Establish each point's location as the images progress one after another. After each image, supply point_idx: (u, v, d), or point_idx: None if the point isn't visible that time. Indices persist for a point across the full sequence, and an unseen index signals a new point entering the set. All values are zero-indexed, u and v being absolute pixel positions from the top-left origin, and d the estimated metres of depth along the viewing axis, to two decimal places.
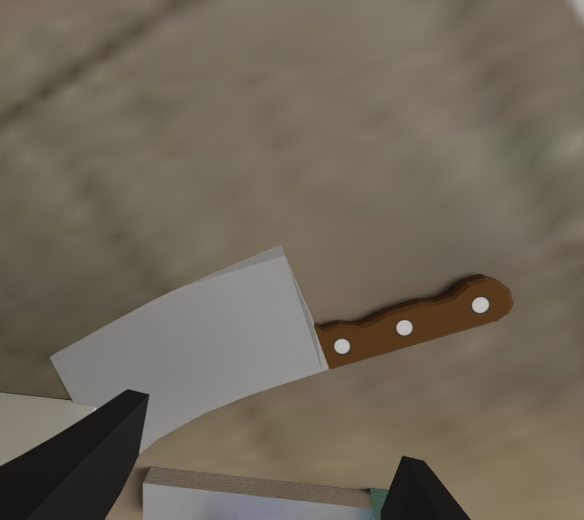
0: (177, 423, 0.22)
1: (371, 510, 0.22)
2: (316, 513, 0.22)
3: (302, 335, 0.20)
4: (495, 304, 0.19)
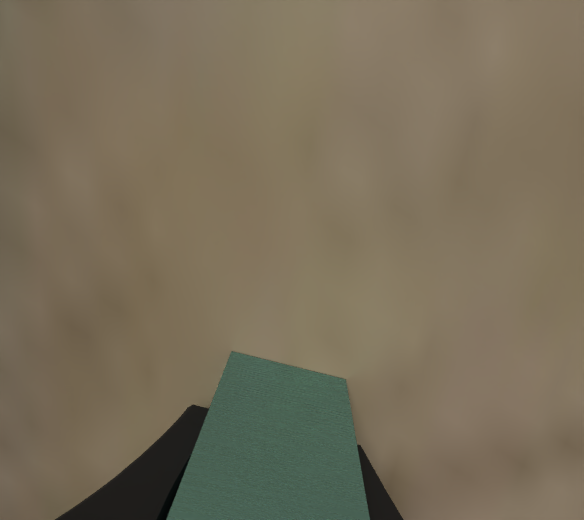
0: None
1: None
2: None
3: None
4: None
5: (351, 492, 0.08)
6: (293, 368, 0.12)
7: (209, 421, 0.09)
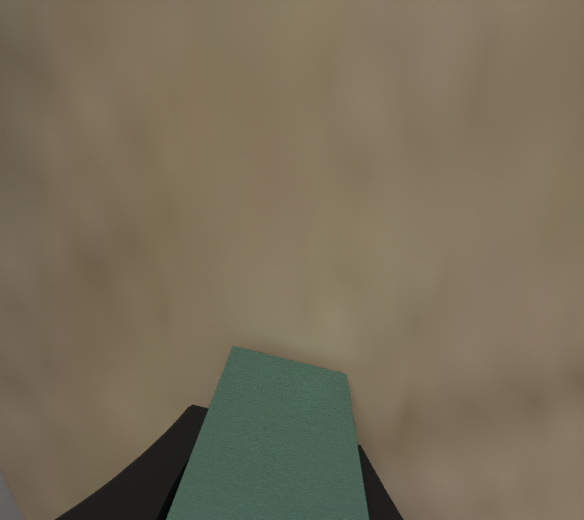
0: None
1: None
2: None
3: None
4: None
5: (350, 488, 0.08)
6: (295, 363, 0.12)
7: (210, 417, 0.09)
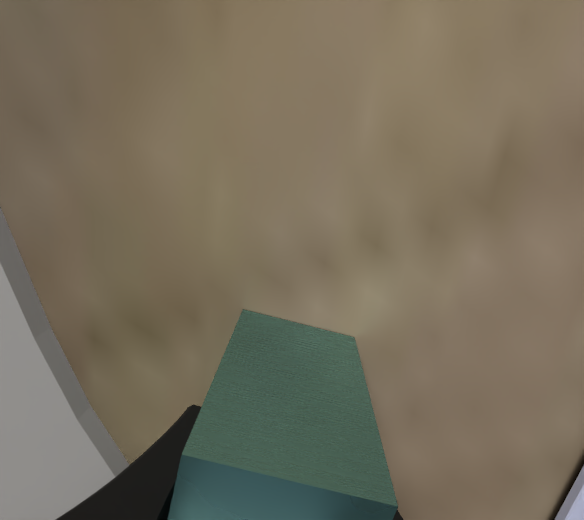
0: (97, 459, 0.13)
1: None
2: None
3: None
4: None
5: (364, 425, 0.08)
6: (303, 326, 0.12)
7: (225, 363, 0.09)
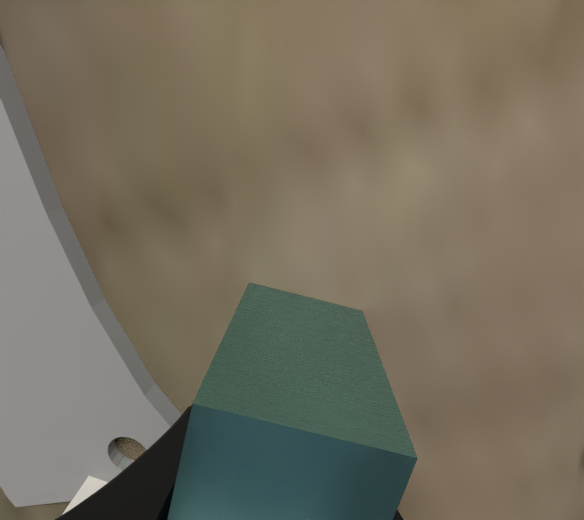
0: (111, 354, 0.12)
1: None
2: None
3: None
4: None
5: (377, 386, 0.08)
6: (310, 300, 0.12)
7: (233, 327, 0.09)
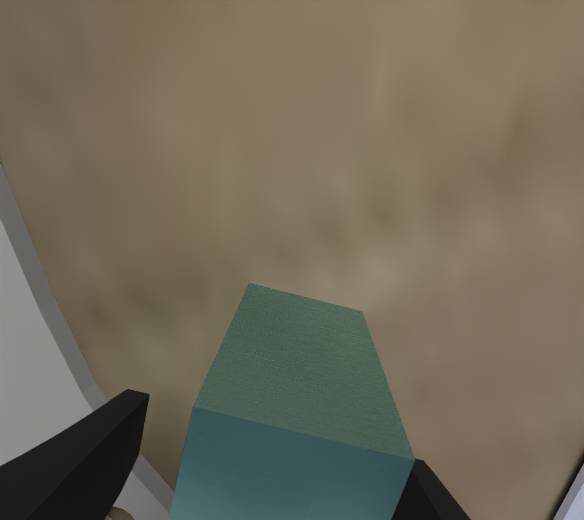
0: None
1: None
2: None
3: None
4: None
5: (376, 387, 0.08)
6: (310, 300, 0.12)
7: (233, 328, 0.09)
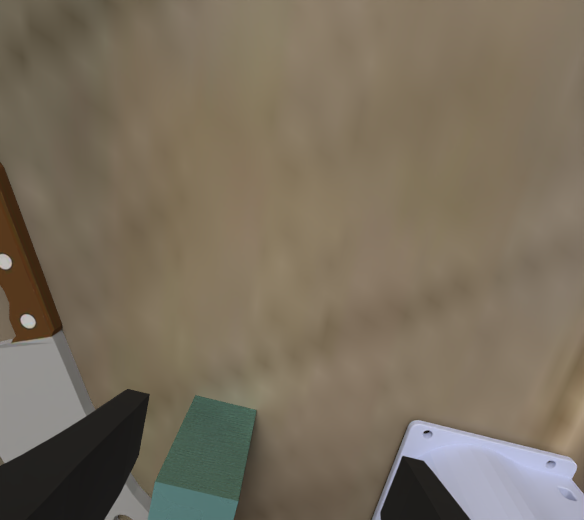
0: None
1: None
2: None
3: (22, 353, 0.21)
4: None
5: (238, 465, 0.18)
6: (228, 404, 0.22)
7: (179, 434, 0.19)
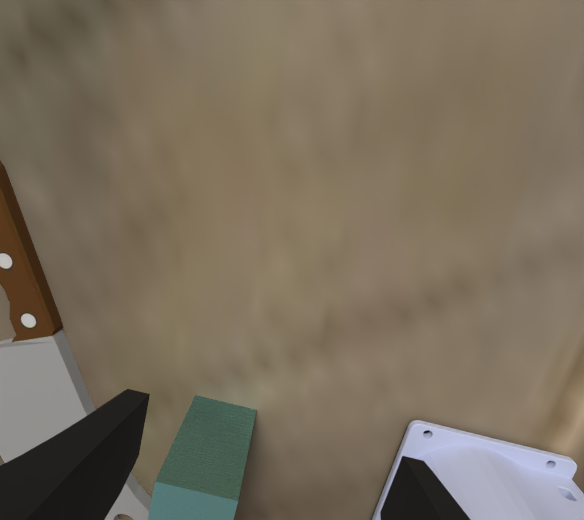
0: None
1: None
2: None
3: (23, 352, 0.21)
4: None
5: (238, 465, 0.18)
6: (228, 404, 0.22)
7: (179, 434, 0.19)
